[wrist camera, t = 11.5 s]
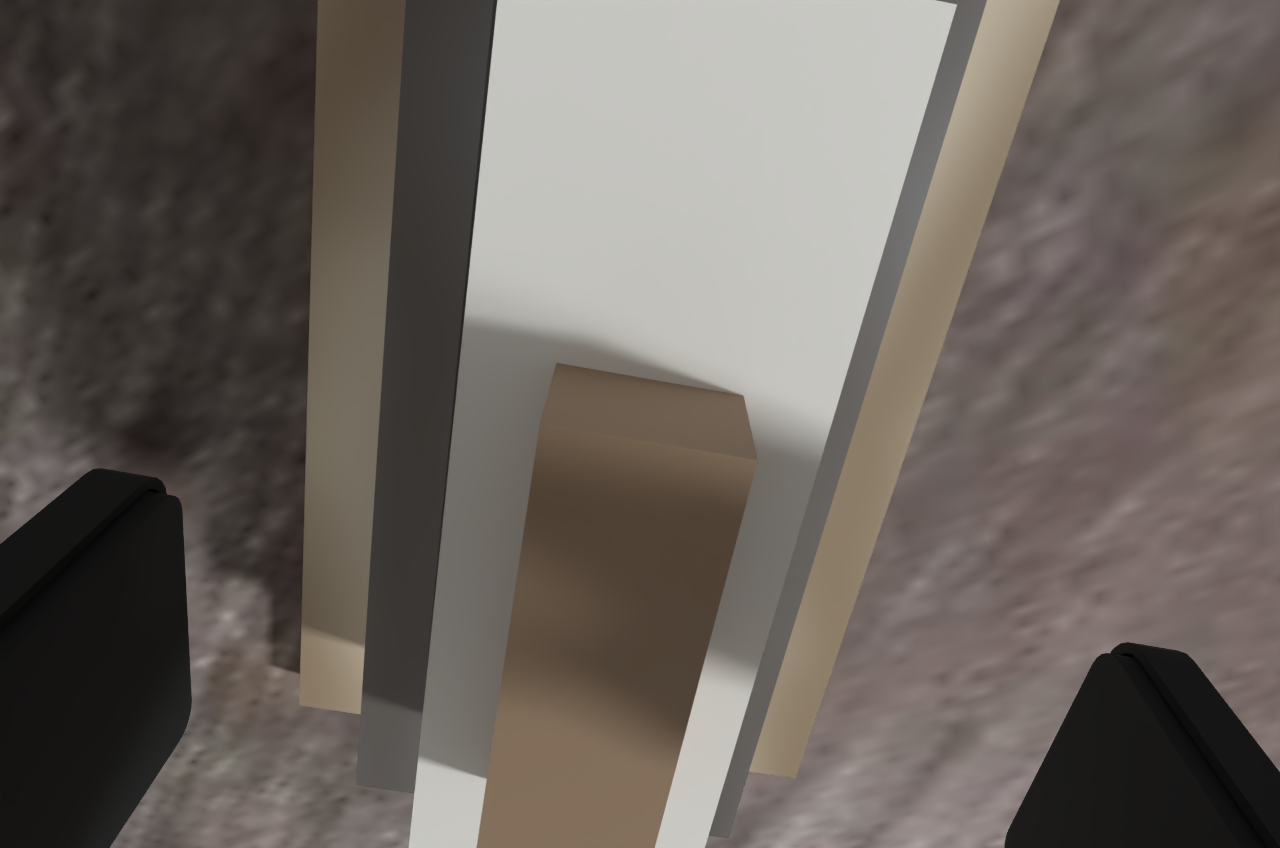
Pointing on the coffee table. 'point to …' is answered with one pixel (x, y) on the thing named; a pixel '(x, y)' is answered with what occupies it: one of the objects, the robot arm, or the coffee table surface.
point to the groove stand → (432, 336)
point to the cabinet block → (648, 393)
